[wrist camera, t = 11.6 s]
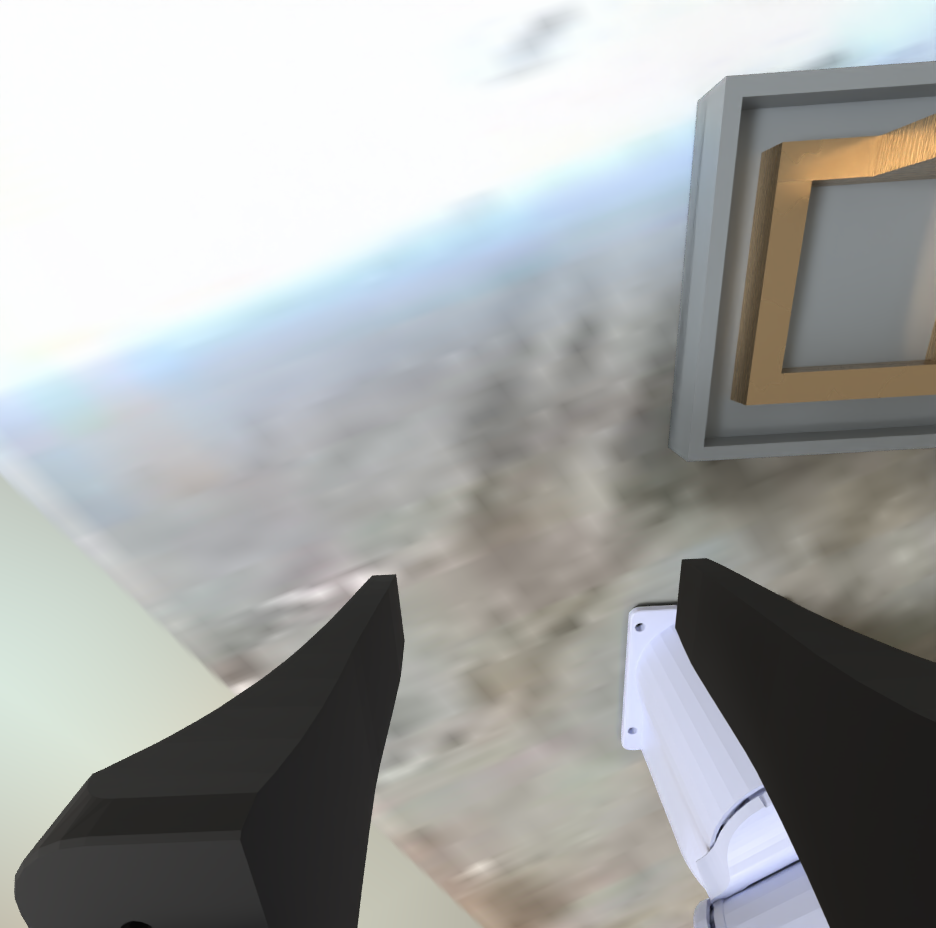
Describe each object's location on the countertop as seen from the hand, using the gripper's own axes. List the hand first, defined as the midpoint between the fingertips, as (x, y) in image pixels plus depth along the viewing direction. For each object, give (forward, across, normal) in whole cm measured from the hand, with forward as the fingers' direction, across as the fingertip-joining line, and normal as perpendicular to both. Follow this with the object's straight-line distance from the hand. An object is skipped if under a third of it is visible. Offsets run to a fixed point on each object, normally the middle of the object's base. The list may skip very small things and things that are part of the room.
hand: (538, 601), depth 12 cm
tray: (+10, -14, -7) cm, 19 cm away
